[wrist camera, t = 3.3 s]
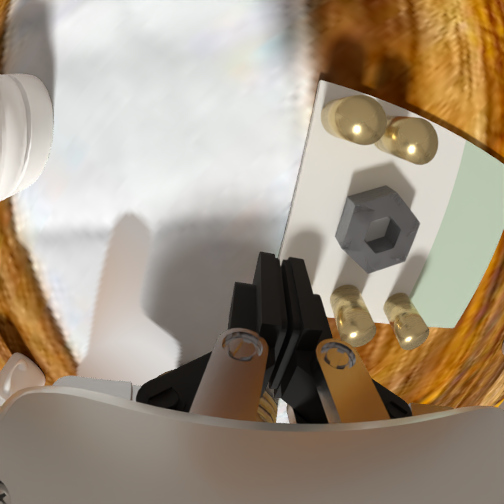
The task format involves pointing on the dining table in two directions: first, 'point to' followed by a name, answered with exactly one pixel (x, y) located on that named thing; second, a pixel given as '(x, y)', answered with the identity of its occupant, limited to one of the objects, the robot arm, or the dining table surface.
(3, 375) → the mug
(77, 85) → the dining table surface
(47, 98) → the honey pot
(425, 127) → the spacers
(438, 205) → the mat
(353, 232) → the nut
